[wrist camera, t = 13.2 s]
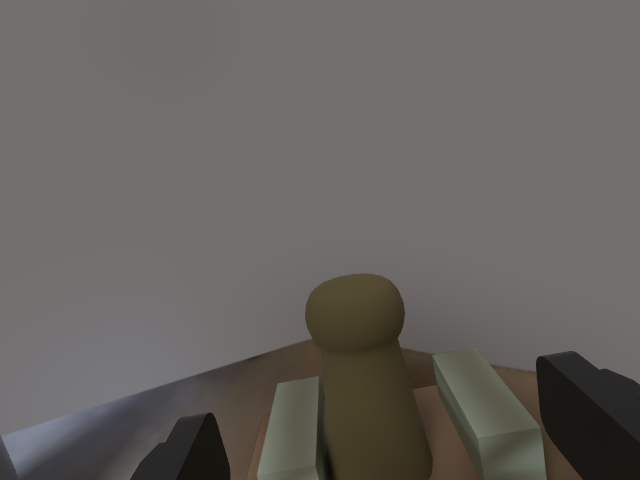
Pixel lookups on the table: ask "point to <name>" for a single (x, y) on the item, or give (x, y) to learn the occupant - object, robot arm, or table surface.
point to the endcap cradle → (437, 418)
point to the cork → (366, 381)
